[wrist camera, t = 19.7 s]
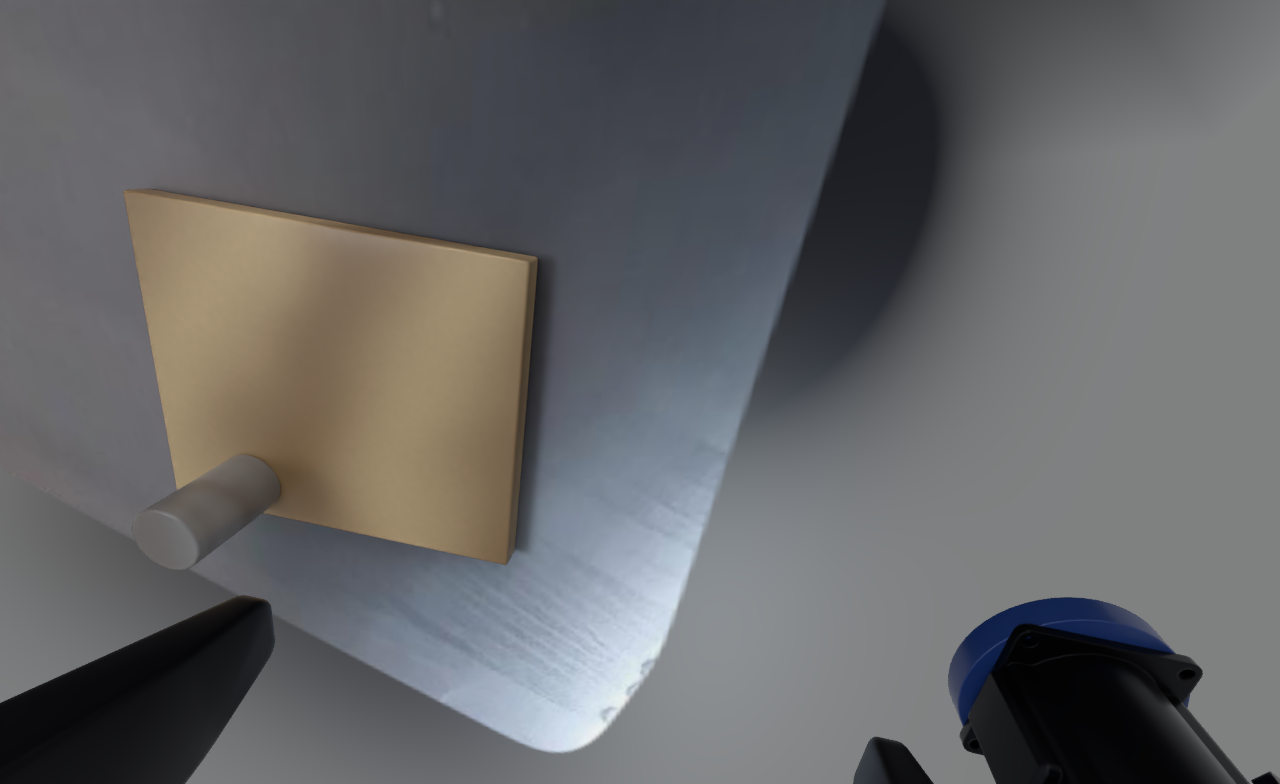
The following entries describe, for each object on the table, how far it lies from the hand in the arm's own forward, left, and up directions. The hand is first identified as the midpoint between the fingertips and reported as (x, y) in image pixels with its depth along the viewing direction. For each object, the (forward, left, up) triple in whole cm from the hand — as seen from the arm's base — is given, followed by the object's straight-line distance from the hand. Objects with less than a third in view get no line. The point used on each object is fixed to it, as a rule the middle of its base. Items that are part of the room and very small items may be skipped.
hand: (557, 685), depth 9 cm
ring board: (+11, +3, -13) cm, 18 cm away
